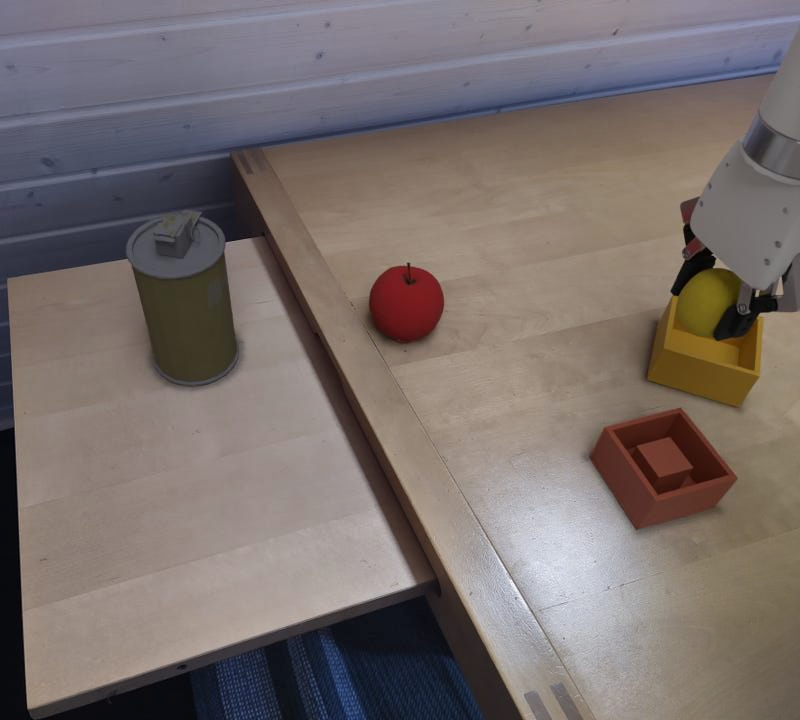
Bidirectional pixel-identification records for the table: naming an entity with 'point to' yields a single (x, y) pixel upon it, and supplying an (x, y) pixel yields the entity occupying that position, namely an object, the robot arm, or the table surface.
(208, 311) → the canister
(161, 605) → the table surface
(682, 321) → the lemon
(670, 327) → the yellow bin
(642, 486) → the clay bin
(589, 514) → the table surface
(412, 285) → the apple
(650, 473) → the clay block
